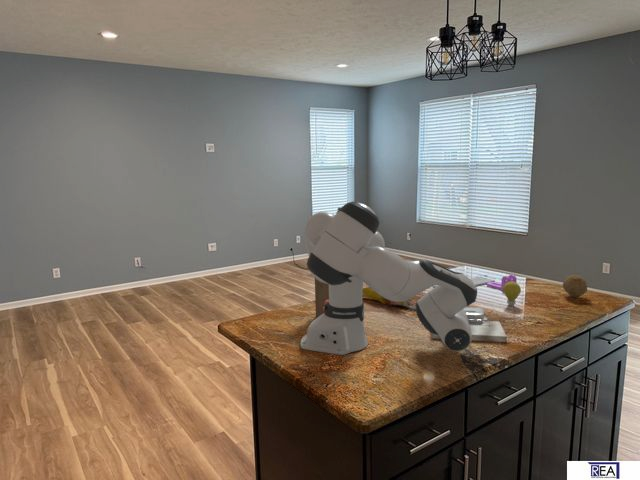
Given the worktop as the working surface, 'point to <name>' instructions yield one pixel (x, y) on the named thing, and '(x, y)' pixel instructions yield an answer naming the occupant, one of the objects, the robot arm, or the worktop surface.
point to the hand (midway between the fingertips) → (450, 307)
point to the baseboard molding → (480, 281)
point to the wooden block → (320, 296)
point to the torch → (376, 296)
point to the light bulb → (511, 292)
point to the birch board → (485, 332)
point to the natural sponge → (575, 286)
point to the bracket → (504, 280)
